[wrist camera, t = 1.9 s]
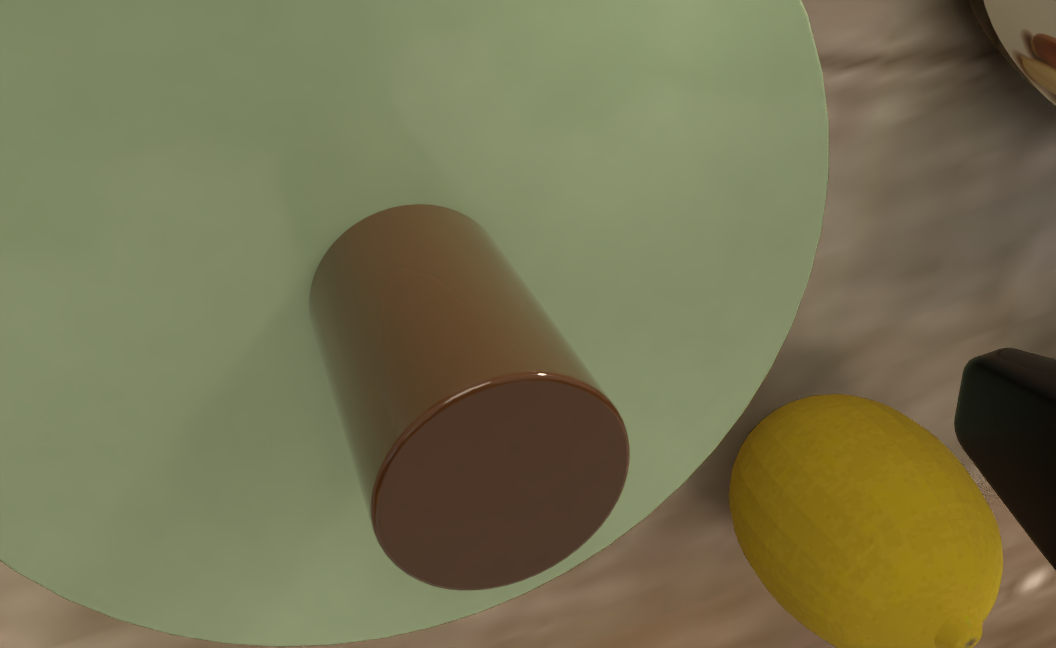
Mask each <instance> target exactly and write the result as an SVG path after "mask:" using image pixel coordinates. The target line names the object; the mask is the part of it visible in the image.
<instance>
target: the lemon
mask: <svg viewBox="0 0 1056 648" xmlns="http://www.w3.org/2000/svg"><path fill="white" fill-rule="evenodd" d="M729 505H730V510H731V515H732V520H733V525H734V530H735V533H736V536H737V539H738V542H739V544H740V546H741V548H742V550H743V553H744V555H745V556H746V558H747V560H748V561H749V563H750V565H751V566H752V568H753V569H754V571H755V572H756V574H757V575H758V577H759V578H760V580H761V581H762V583H763V584H764V586H765V587H766V588H767V590H768V591H769V592H770V593H771V595H772V596H773V597H774V598H775V599H776V600H777V602H778V603H779V604H780V605H781V606H782V607H783V608H784V609H785V610H786V611H787V612H789V613H790V614H791V615H792V616H793V617H794V618H795V619H796V620H798V621H799V622H800V623H801V624H803V625H804V626H805V627H807V628H808V629H809V630H810V631H812V632H813V633H815V634H816V635H818V636H819V637H821V638H822V639H824V640H826V641H827V642H829V643H830V644H832V645H834V646H836V647H837V648H972V647H973V646H974V645H976V644H977V643H978V641H979V640H980V639H981V636H982V623H983V622H984V620H985V619H986V617H987V616H988V614H989V613H990V611H991V609H992V607H993V605H994V603H995V601H996V598H997V595H998V592H999V587H1000V583H1001V577H1002V570H1003V552H1002V543H1001V537H1000V533H999V529H998V524H997V522H996V520H995V517H994V515H993V513H992V510H991V509H990V507H989V505H988V503H987V502H986V500H985V498H984V497H983V495H982V493H981V492H980V490H979V488H978V487H977V485H976V484H975V482H974V481H973V479H972V478H971V476H970V475H969V473H968V472H967V470H966V469H965V468H964V467H963V465H962V464H961V463H960V461H959V460H958V459H957V458H956V457H955V456H954V454H953V453H952V452H951V451H950V450H949V449H948V448H947V447H946V446H945V445H944V444H943V443H942V442H941V441H940V440H939V439H938V438H936V437H935V436H934V435H933V434H931V433H930V432H929V431H928V430H926V429H925V428H923V427H922V426H920V425H919V424H917V423H916V422H914V421H913V420H911V419H910V418H908V417H906V416H905V415H903V414H902V413H900V412H898V411H896V410H894V409H893V408H891V407H889V406H886V405H884V404H882V403H879V402H876V401H873V400H869V399H865V398H861V397H856V396H851V395H844V394H830V395H816V396H810V397H806V398H803V399H800V400H797V401H793V402H790V403H788V404H786V405H784V406H782V407H780V408H779V409H777V410H775V411H773V412H772V413H771V414H770V415H768V416H767V417H766V418H764V419H763V420H762V421H761V422H760V423H759V424H758V425H757V426H756V427H755V428H754V429H753V430H752V431H751V432H750V433H749V435H748V437H747V438H746V440H745V441H744V443H743V444H742V446H741V448H740V450H739V452H738V455H737V458H736V460H735V463H734V465H733V468H732V473H731V480H730V489H729Z"/></svg>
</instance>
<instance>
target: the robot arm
mask: <svg viewBox="0 0 1056 648" xmlns="http://www.w3.org/2000/svg"><path fill="white" fill-rule="evenodd" d="M954 426H955V432H956V436H957V439H958V441H959V443H960V445H961V446H962V448H963V450H964V451H965V452H966V453H967V455H968V456H969V457H970V459H971V460H972V461H973V463H974V464H975V465H976V467H977V468H978V469H979V471H980V472H981V473H982V475H983V476H984V477H985V479H986V480H987V481H988V483H989V484H990V485H991V487H992V488H993V489H994V491H995V492H996V493H997V495H998V496H999V497H1000V498H1001V500H1002V501H1003V502H1004V504H1005V505H1006V506H1007V508H1008V509H1009V510H1010V512H1011V513H1012V514H1013V516H1014V517H1015V518H1016V520H1017V521H1018V522H1019V524H1020V525H1021V526H1022V528H1023V529H1024V530H1025V532H1026V533H1027V534H1028V536H1029V537H1030V538H1031V540H1032V541H1033V542H1034V543H1035V545H1036V546H1037V547H1038V549H1039V550H1040V551H1041V553H1042V554H1043V555H1044V556H1045V558H1046V559H1047V560H1048V561H1049V563H1050V564H1051V565H1052V566H1053V568H1054V569H1055V570H1056V360H1055V359H1051V358H1048V357H1044V356H1040V355H1036V354H1033V353H1029V352H1025V351H1021V350H1018V349H1013V348H1003V349H998V350H995V351H992V352H989V353H987V354H984V355H981V356H978V357H975V358H973V359H971V360H970V361H969V362H968V363H967V365H966V366H965V368H964V371H963V375H962V381H961V386H960V392H959V398H958V403H957V409H956V415H955V421H954Z"/></svg>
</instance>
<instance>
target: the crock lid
mask: <svg viewBox="0 0 1056 648" xmlns="http://www.w3.org/2000/svg"><path fill="white" fill-rule="evenodd" d="M828 164H829V123H828V114H827V106H826V98H825V90H824V81H823V73H822V68H821V64H820V60H819V57H818V53H817V49H816V45H815V41H814V37H813V33H812V30H811V26H810V22H809V18H808V15H807V13H806V10H805V8H804V5H803V3H802V1H801V0H0V561H2V562H3V563H4V564H6V565H7V566H8V567H10V568H11V569H13V570H14V571H15V572H17V573H19V574H21V575H23V576H25V577H26V578H28V579H30V580H32V581H34V582H36V583H37V584H39V585H41V586H43V587H45V588H47V589H48V590H50V591H52V592H54V593H56V594H57V595H59V596H61V597H63V598H65V599H67V600H69V601H72V602H74V603H77V604H79V605H82V606H84V607H87V608H89V609H92V610H94V611H97V612H99V613H102V614H104V615H107V616H109V617H112V618H114V619H117V620H120V621H123V622H127V623H131V624H134V625H138V626H142V627H145V628H149V629H152V630H156V631H160V632H163V633H167V634H171V635H176V636H182V637H188V638H194V639H200V640H206V641H212V642H218V643H225V644H239V645H255V646H271V647H293V646H321V645H336V644H344V643H352V642H360V641H367V640H375V639H383V638H387V637H392V636H396V635H401V634H405V633H410V632H414V631H419V630H423V629H428V628H432V627H435V626H439V625H442V624H445V623H448V622H451V621H454V620H458V619H461V618H464V617H467V616H470V615H473V614H477V613H480V612H482V611H485V610H487V609H489V608H492V607H494V606H497V605H499V604H501V603H504V602H506V601H509V600H511V599H513V598H516V597H518V596H521V595H523V594H525V593H527V592H529V591H531V590H533V589H535V588H537V587H539V586H541V585H543V584H545V583H547V582H549V581H551V580H552V579H554V578H556V577H558V576H560V575H562V574H564V573H566V572H568V571H570V570H571V569H573V568H574V567H576V566H578V565H579V564H581V563H582V562H584V561H585V560H587V559H589V558H590V557H592V556H593V555H595V554H596V553H598V552H600V551H601V550H603V549H604V548H606V547H608V546H609V545H611V544H612V543H613V542H614V541H616V540H617V539H618V538H620V537H621V536H622V535H624V534H625V533H626V532H628V531H629V530H630V529H632V528H633V527H634V526H635V525H637V524H638V523H639V522H641V521H642V520H643V519H645V518H646V517H647V516H648V515H650V514H651V513H652V512H653V511H654V510H655V509H656V508H657V507H658V506H659V505H661V504H662V503H663V502H664V501H665V500H666V499H667V498H668V497H669V496H670V495H672V494H673V493H674V492H675V491H676V490H677V489H678V488H679V487H680V486H681V485H683V484H684V483H685V481H686V480H687V479H688V478H689V477H690V476H691V475H692V474H693V473H694V472H695V471H696V469H697V468H698V467H699V466H700V465H701V464H702V463H703V462H704V461H705V460H706V459H707V457H708V456H709V455H710V454H711V453H712V452H713V451H714V450H715V449H716V448H717V446H718V445H719V444H720V442H721V441H722V440H723V438H724V437H725V436H726V434H727V433H728V432H729V431H730V429H731V428H732V427H733V425H734V424H735V423H736V421H737V420H738V419H739V417H740V416H741V415H742V413H743V412H744V411H745V409H746V408H747V406H748V405H749V403H750V401H751V400H752V398H753V397H754V395H755V393H756V392H757V390H758V389H759V387H760V385H761V384H762V382H763V380H764V379H765V377H766V376H767V374H768V372H769V371H770V369H771V367H772V365H773V363H774V361H775V359H776V357H777V355H778V353H779V351H780V349H781V347H782V345H783V343H784V341H785V339H786V337H787V335H788V333H789V331H790V329H791V327H792V324H793V322H794V319H795V316H796V314H797V311H798V308H799V305H800V303H801V300H802V297H803V295H804V292H805V289H806V286H807V284H808V281H809V278H810V275H811V270H812V266H813V262H814V258H815V254H816V250H817V246H818V242H819V238H820V234H821V230H822V224H823V216H824V208H825V200H826V192H827V185H828Z"/></svg>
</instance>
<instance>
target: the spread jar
mask: <svg viewBox="0 0 1056 648" xmlns="http://www.w3.org/2000/svg"><path fill="white" fill-rule="evenodd" d="M968 1H969V3H970V6H971V8H972V11H973V13H974V15H975V17H976V19H977V21H978V23H979V25H980V26H981V28H982V29H983V31H984V32H985V34H986V35H987V37H988V38H989V40H990V41H991V42H992V43H993V44H994V46H995V47H996V48H997V49H998V50H999V52H1000V53H1001V54H1002V55H1003V56H1004V58H1005V59H1006V60H1007V61H1008V62H1009V63H1010V64H1011V65H1012V66H1013V68H1014V69H1015V70H1016V71H1017V72H1018V73H1019V74H1020V75H1021V76H1022V77H1024V78H1025V79H1026V80H1027V81H1028V82H1029V83H1030V84H1031V85H1032V86H1033V87H1034V88H1036V89H1037V90H1038V91H1039V92H1040V93H1041V94H1043V95H1044V96H1045V97H1046V98H1047V99H1048V100H1050V101H1051V102H1052V103H1053V104H1054V105H1055V106H1056V0H968Z"/></svg>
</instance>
